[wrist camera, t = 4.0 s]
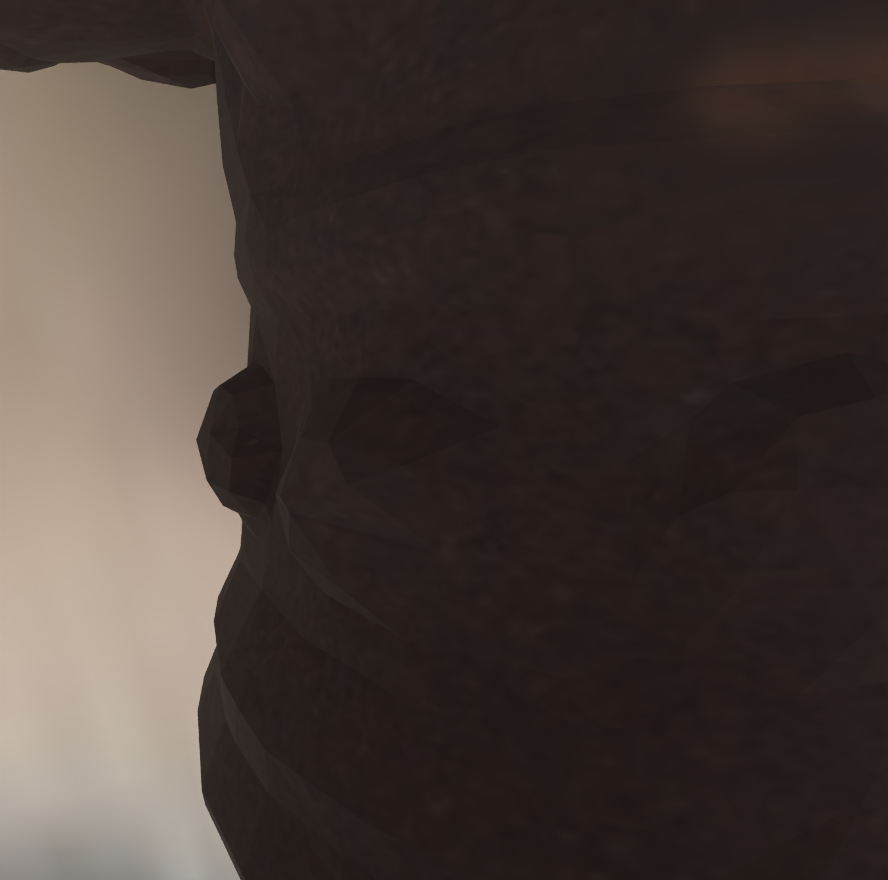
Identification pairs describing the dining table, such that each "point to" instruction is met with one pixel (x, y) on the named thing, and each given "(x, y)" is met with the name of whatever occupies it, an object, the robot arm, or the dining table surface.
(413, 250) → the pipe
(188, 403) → the dining table surface
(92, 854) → the dining table surface
